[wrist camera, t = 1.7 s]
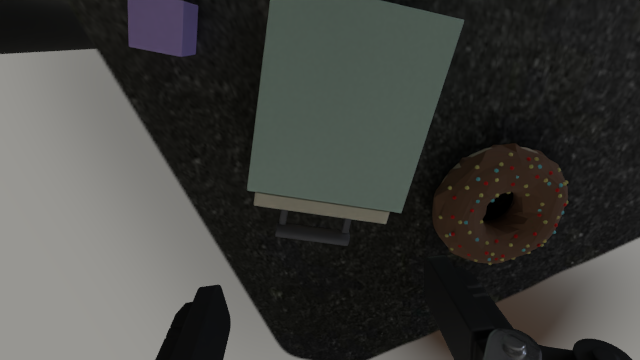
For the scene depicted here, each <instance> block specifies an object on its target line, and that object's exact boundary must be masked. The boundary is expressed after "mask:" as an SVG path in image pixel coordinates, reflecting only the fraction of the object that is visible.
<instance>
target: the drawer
mask: <svg viewBox="0 0 640 360" xmlns="http://www.w3.org/2000/svg"><path fill="white" fill-rule="evenodd" d="M254 205H255V206H262V207H269V208H276V209H281V215H280V220H279V222H277V225H276V231H275V236H276V237H283V238H291V239H299V240H306V241H314V242H322V243H329V244H337V245H345V246H347V245H348V243H349V232H348V231H349V227H350V223H351V219H354V220H361V221H368V222H375V223H382V224H386V222H387V219H388V216H389V213H390V212H389V211H384V210H377V209H370V208H363V207H357V206H350V205H343V204H336V203H329V202H323V201H316V200H309V199H302V198H295V197H289V196H282V195H275V194H268V193H261V192H255V198H254ZM288 210H290V211H297V212H305V213H312V214H319V215H326V216H333V217H340V218H344V220H343V224H342V228H341V230H336V229H328V228H321V227H314V226H306V225H299V224H292V223H286V219H287V214H288Z"/></svg>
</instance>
